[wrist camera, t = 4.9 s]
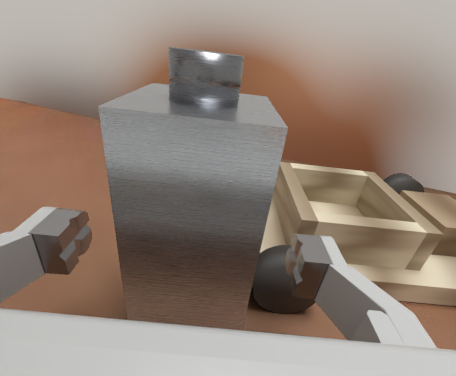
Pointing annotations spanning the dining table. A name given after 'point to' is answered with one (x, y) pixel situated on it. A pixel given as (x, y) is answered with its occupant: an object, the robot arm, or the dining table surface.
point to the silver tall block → (191, 190)
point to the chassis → (360, 233)
